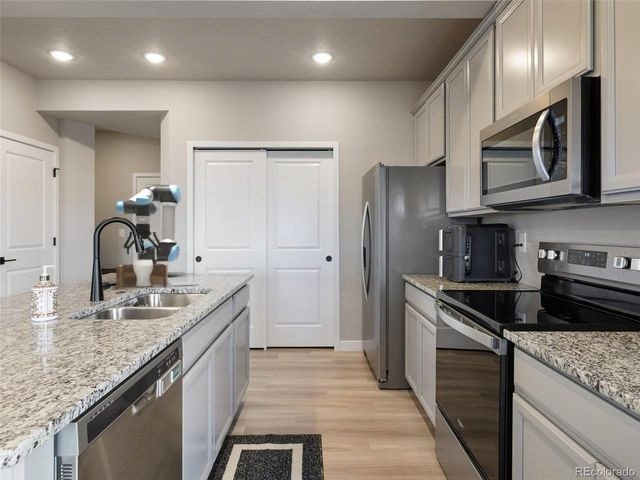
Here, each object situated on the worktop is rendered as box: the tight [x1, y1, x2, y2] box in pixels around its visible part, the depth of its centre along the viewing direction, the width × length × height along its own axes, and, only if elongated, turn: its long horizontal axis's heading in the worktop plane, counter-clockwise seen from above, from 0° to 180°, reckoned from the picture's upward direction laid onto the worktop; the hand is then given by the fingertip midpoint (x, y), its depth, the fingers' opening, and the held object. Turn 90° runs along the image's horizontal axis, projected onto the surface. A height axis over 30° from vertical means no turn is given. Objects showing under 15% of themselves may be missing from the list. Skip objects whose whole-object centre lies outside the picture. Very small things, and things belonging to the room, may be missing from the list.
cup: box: [132, 259, 153, 288], centre depth 219 cm, size 11×11×15 cm
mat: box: [170, 280, 199, 287], centre depth 226 cm, size 15×15×1 cm
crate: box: [115, 263, 169, 290], centre depth 220 cm, size 17×26×13 cm, turn 109°
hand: (143, 259), depth 219 cm, fingers open, 13 cm apart
